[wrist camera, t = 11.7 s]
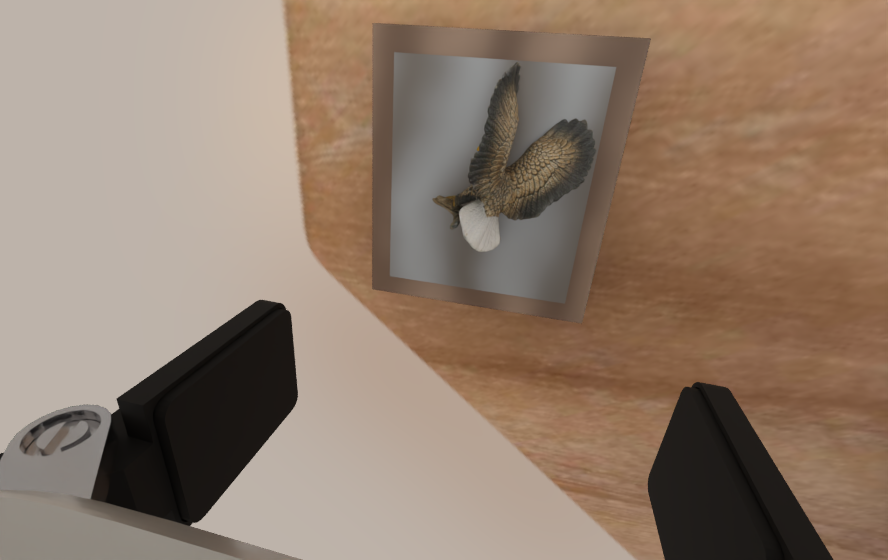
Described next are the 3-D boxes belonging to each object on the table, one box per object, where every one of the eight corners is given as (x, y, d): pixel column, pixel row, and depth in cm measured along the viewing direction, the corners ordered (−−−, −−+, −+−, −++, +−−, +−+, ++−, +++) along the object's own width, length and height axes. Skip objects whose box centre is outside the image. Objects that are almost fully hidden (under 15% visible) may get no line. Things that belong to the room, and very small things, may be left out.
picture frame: (640, 43, 25) (652, 38, 23) (579, 306, 33) (582, 325, 30) (387, 29, 28) (370, 22, 25) (384, 275, 35) (371, 290, 33)
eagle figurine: (475, 199, 31) (571, 101, 26) (517, 276, 27) (636, 178, 23) (394, 165, 26) (497, 34, 21) (433, 255, 22) (567, 122, 17)
